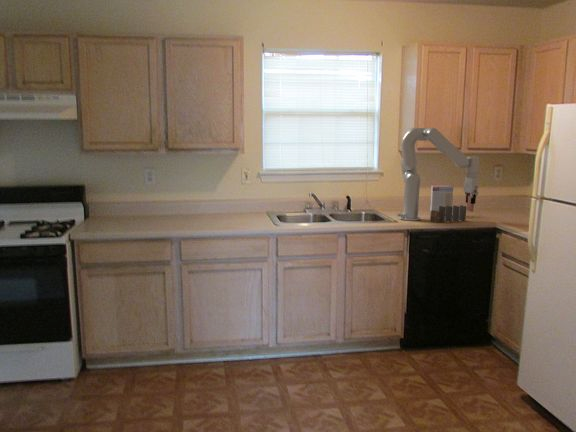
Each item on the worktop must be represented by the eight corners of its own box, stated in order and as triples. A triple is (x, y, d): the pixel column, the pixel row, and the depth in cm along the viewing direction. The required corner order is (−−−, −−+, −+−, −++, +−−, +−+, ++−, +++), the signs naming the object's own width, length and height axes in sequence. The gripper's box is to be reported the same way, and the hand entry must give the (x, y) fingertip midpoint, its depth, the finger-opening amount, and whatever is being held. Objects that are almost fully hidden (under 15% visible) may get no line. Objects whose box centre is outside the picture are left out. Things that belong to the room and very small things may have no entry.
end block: (435, 222, 329) (436, 212, 327) (430, 221, 335) (430, 210, 334) (439, 222, 329) (439, 212, 328) (433, 220, 336) (434, 210, 335)
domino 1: (442, 222, 331) (443, 207, 329) (438, 221, 336) (439, 206, 334) (444, 222, 331) (445, 207, 330) (440, 220, 336) (441, 205, 334)
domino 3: (456, 221, 333) (457, 206, 331) (452, 220, 338) (453, 205, 336) (458, 221, 334) (459, 206, 332) (454, 220, 338) (455, 205, 337)
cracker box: (450, 215, 360) (451, 185, 356) (451, 216, 354) (453, 186, 350) (429, 214, 361) (431, 185, 357) (431, 215, 355) (432, 185, 351)
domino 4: (463, 221, 334) (464, 206, 333) (458, 220, 339) (459, 205, 337) (465, 221, 335) (466, 206, 333) (461, 220, 339) (462, 205, 338)
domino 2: (449, 222, 332) (450, 206, 330) (445, 220, 337) (446, 205, 335) (451, 222, 332) (452, 206, 331) (447, 220, 337) (448, 205, 335)
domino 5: (471, 211, 334) (472, 196, 333) (466, 210, 339) (467, 195, 337) (473, 211, 335) (474, 196, 333) (468, 210, 340) (469, 195, 338)
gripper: (459, 174, 340) (458, 201, 343) (474, 176, 324) (472, 205, 327) (469, 174, 342) (468, 201, 345) (485, 176, 326) (483, 204, 329)
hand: (470, 202), depth 336 cm, fingers closed on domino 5, 4 cm apart
